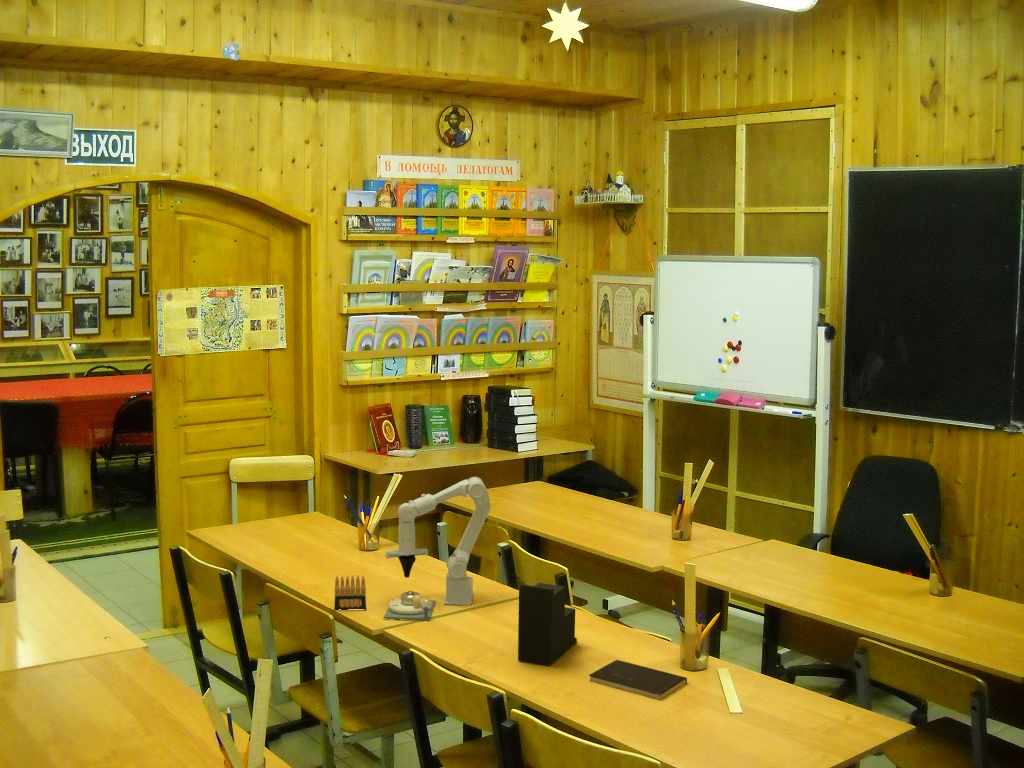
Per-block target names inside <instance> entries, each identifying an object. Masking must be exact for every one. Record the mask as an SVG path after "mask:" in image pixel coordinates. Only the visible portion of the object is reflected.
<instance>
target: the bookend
mask: <svg viewBox="0 0 1024 768" xmlns="http://www.w3.org/2000/svg"><path fill="white" fill-rule="evenodd" d="M518 589H519V590H518V625H517V626H518V629H517V631H518V633H517V634H518V635H517V639H518V641H517V661H519V662H525V663H532V664H538V665H545V666H552V665H553V664H554V663H555V662H556V661H558V660H559V658H561V657H562V656H563V655H565V653H566V652H567V651H569V650H570V649H571V648H572V647H573V646H574V645H575V644H576V643H578V638H577V637H576V608H572V607H566V586H564V585H559V584H557V585H556V584H549V583H543V582H538V583H536V585H529V584H528V585H527V584H521V583H520V584H519V585H518ZM575 642H576V643H575ZM572 645H573V646H572ZM571 646H572V647H571ZM569 648H570V649H569ZM568 649H569V650H568Z"/></svg>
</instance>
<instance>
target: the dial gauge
mask: <svg viewBox="0 0 1024 768" xmlns="http://www.w3.org/2000/svg"><path fill="white" fill-rule="evenodd" d="M429 600H430V599H428V600H423V601H422V602H421V608H422V610H424V617H428V610H430V609H431V606H432V604H431V602H430V601H429Z"/></svg>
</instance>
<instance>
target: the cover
mask: <svg viewBox="0 0 1024 768" xmlns="http://www.w3.org/2000/svg"><path fill="white" fill-rule="evenodd" d="M414 595H420V596H421V594H420V593H419V592H417V591H413V590H409V591H405V592H402V593H401V594H400V598H401V604H402V605H405V606H413V596H414Z"/></svg>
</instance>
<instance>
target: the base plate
mask: <svg viewBox="0 0 1024 768" xmlns="http://www.w3.org/2000/svg"><path fill="white" fill-rule="evenodd" d="M394 599H395V598H393V599H392V600H394ZM429 600H430V599H429ZM430 601H431V604H432V606H431V609H430V610H429V611H428V617H424V613H419V614H399V613H395V612H392V611H390V610H389V606H388V608H387V609H386V611H385V613H384V615H383V619H384V618H385V619H386V618H387V619H408V620H407V621H412V620H417V621H418V622H419V621H420V622H429V621H430V618H431V615H432V613H433V611H434V609H433V608H435V606H436V604H437V603H436V600H434V599H433V600H432V599H431V600H430Z"/></svg>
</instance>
